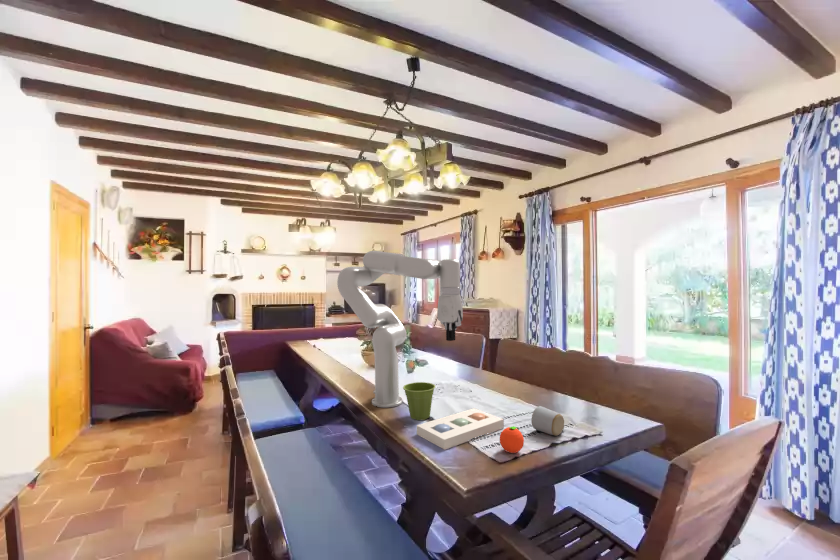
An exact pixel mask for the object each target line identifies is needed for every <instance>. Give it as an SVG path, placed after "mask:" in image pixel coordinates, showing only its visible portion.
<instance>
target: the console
mask: <svg viewBox="0 0 840 560" xmlns="http://www.w3.org/2000/svg"><path fill="white" fill-rule="evenodd" d="M473 413H482V414H484V415H485V419H483V420H480V421H477V420H475V419H472V418H471V415H472V414H473ZM457 418H464V419H467V420H468V425H465V426H462V427H460V426H457V425H455V424H454V420H455V419H457ZM504 422H505V421H504V418H502V417H499V416H497V415H494V414H491V413H487V412H485V411H483V410H480V409H477V408H475V407H473V408H470V409H466V410H464V411H460V412H458V413H453V414H450V415H447V416H443V417H440V418H436V419H433V420H430V421H427V422H424V423H420V424H417V425H416V435H417V436H418V437H421V438H423V439H424V440H426V441H428V442H429V443H432V444H434V446H437V447H439V448H440V449H442V450H448V449H450V448H454V447H457V446H458V445H462V444H464V443H467V442H469V441H468V440H470V439H472V438H475V437H478V436H481V435H484V434H486V435H488V434H487V433H489V434H491V432H492V433H493V432H497V431H500V430H502V429H503V430H504V429H505V425H504V424H505V423H504ZM438 424H447V425H449V426H450V430H449V431H446V432H443V433H440V432H438V431H436V430H435V426H436V425H438ZM484 436H485V435H484ZM481 437H482V436H481ZM478 438H479V437H478ZM475 439H476V438H475ZM470 441H471V440H470Z"/></svg>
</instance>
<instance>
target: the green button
mask: <svg viewBox="0 0 840 560" xmlns="http://www.w3.org/2000/svg"><path fill="white" fill-rule="evenodd" d="M454 424H455V425H457V426H460V427H462V426H465V425H468V420H467V419H464V418H457V419H455V420H454Z"/></svg>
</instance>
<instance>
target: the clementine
mask: <svg viewBox="0 0 840 560" xmlns="http://www.w3.org/2000/svg"><path fill="white" fill-rule="evenodd" d="M499 443H500V445H501V448H502V449H503V450H504V451H506V452H507V453H509V454H510V453H511V454H516V453H518V452H520V451H521V450H522V449H523V447H524V443H525V437H524V436H523V433H522V432H521V430H520V429H519V427H517V426H514V425H513V426H509V427H508V426H507V427H506V428H503V430H502V431H501V433H500V435H499Z"/></svg>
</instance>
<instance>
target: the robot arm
mask: <svg viewBox="0 0 840 560" xmlns="http://www.w3.org/2000/svg"><path fill="white" fill-rule="evenodd" d="M362 264H363V266H347V267H345V268H343V269H342V270H341V271H340V272H339V274H338V276H337V280H336V281H337V283H336V284H337V289H338V291H339V294H340V296H341V297H342V299H344V301H346V304H348V306H349V307H350V308H351V310H352V311H353V312H354V314H355V316H356V317H357V319H358V320H359V321H360V323H362V324H363V326H364V327H366V328H367V329H374V328H376V329H375V330H374V332H373V334H372V336H371V337H372V346H373V348H372V349H373V353H374V382H375V383H374V385H375V386H374V388H375V389H374V390H373V391H372V392H373V394H374V398H372V400H371V405H373V406H374V407H376V406H377V407H378V408H386V409H387V408H394V407H397V406H400V405H402V404H403V402H404V399H403V398H402V397H400V395H399V394H400V393H399V389H400V386H399V357H398V356H399V355H398V352H397V348H396V347H397V346H400V345H402V344H404V342H405V341H406V339H407V335H408V334H407V330H406V328H405V326H404V325H403V322H401V321H400V319H399V318H398V317H397V315H396V314H395V313H394V312H393V310H392V309H391V308H390V307H389V306H387V305H386V304H383V303H377V304H376V303H374V302H373V301H372V299H371V298H370V297H369V296H368V295H367V293H366V292H364V290H362V289H361V288H360V287H366V286H369V285H371V284H373V283H374V282H375V281H376V280H378V279H379V278H380V277H382V276H383V275H384V274H390V275H396V276H403V277H408V278H415V279H422V280H436V279H439V285H440V286H439V288H440V289H439V290H440V291H439V294H440V295H439V296H438V301H437V316H436V317H437V320H438V322H439V323H440V324H442V325H443V326H444V330H445V340H446V341H447V342H452V341H455V340H456V330H457V328H458V327H460V326H462V322H463V320H464V319H463V317H464V314H463V301H462V296H461V275H460V274H461V266H460V264H461V263H460V261H459V260H458V259H456V258H455V259H454V258H453V259H452V258H450V259H447V258H446V259H442V260H439V259H430V258H421V257H413V256H412V257H410V256H407V255H406V256H405V255H403V254H402V253H394V252H388V251H381V250H370V251H368V252H366V253H365V254H364V256H363V257H362Z"/></svg>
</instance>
